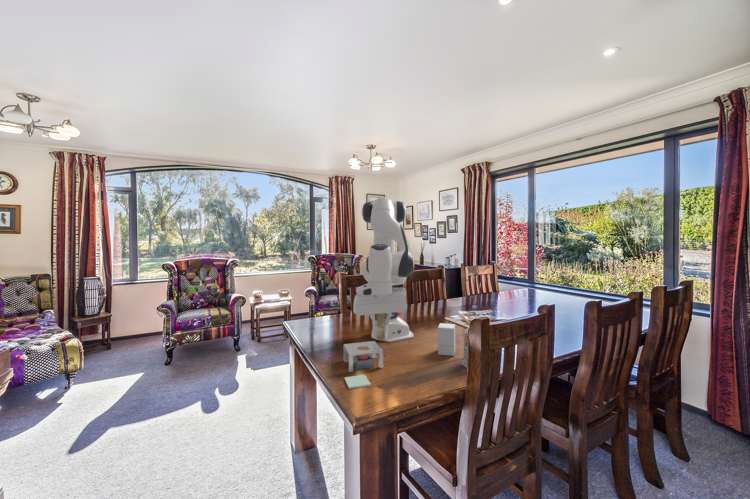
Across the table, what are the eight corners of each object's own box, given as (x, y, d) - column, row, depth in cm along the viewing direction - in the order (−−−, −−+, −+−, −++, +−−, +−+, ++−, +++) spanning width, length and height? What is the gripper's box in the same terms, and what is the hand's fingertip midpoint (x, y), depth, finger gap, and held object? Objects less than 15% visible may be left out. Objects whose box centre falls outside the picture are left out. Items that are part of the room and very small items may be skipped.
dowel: (383, 336, 121) (383, 310, 120) (385, 339, 118) (385, 312, 117) (375, 337, 120) (375, 311, 119) (378, 340, 117) (377, 313, 116)
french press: (472, 371, 126) (472, 308, 125) (453, 360, 137) (454, 303, 135) (491, 366, 130) (492, 306, 129) (471, 356, 141) (472, 300, 139)
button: (367, 357, 135) (367, 350, 134) (369, 361, 130) (369, 354, 130) (356, 358, 133) (356, 351, 133) (359, 362, 129) (359, 355, 129)
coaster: (364, 376, 122) (364, 374, 122) (370, 385, 114) (370, 384, 114) (344, 378, 120) (344, 377, 120) (348, 388, 112) (348, 387, 112)
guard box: (374, 356, 141) (374, 340, 140) (383, 367, 129) (383, 350, 129) (343, 360, 137) (343, 344, 136) (349, 372, 125) (349, 354, 125)
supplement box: (455, 350, 148) (455, 324, 147) (454, 356, 141) (454, 328, 140) (439, 348, 150) (439, 322, 150) (437, 354, 143) (437, 327, 143)
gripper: (403, 285, 124) (403, 320, 125) (351, 288, 118) (352, 325, 119) (409, 287, 118) (409, 324, 118) (355, 291, 112) (356, 330, 113)
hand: (380, 324), depth 118 cm, fingers closed on dowel, 3 cm apart
